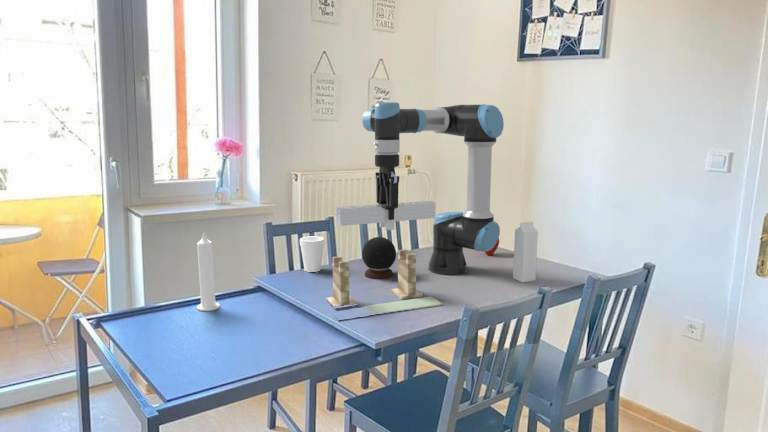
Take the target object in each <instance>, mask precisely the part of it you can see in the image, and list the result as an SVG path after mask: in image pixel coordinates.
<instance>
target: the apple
mask: <svg viewBox="0 0 768 432" xmlns="http://www.w3.org/2000/svg"><path fill="white" fill-rule="evenodd" d="M499 244H500V237H499V238H498V241H497V243H496V244H495V246H494V247H493V248H492V249H491V250H489V251H483V252H484V254H485V255H487V256H492V255H493V254H494V253H495V252H496V251H497V249H498V248H499Z"/></svg>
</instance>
